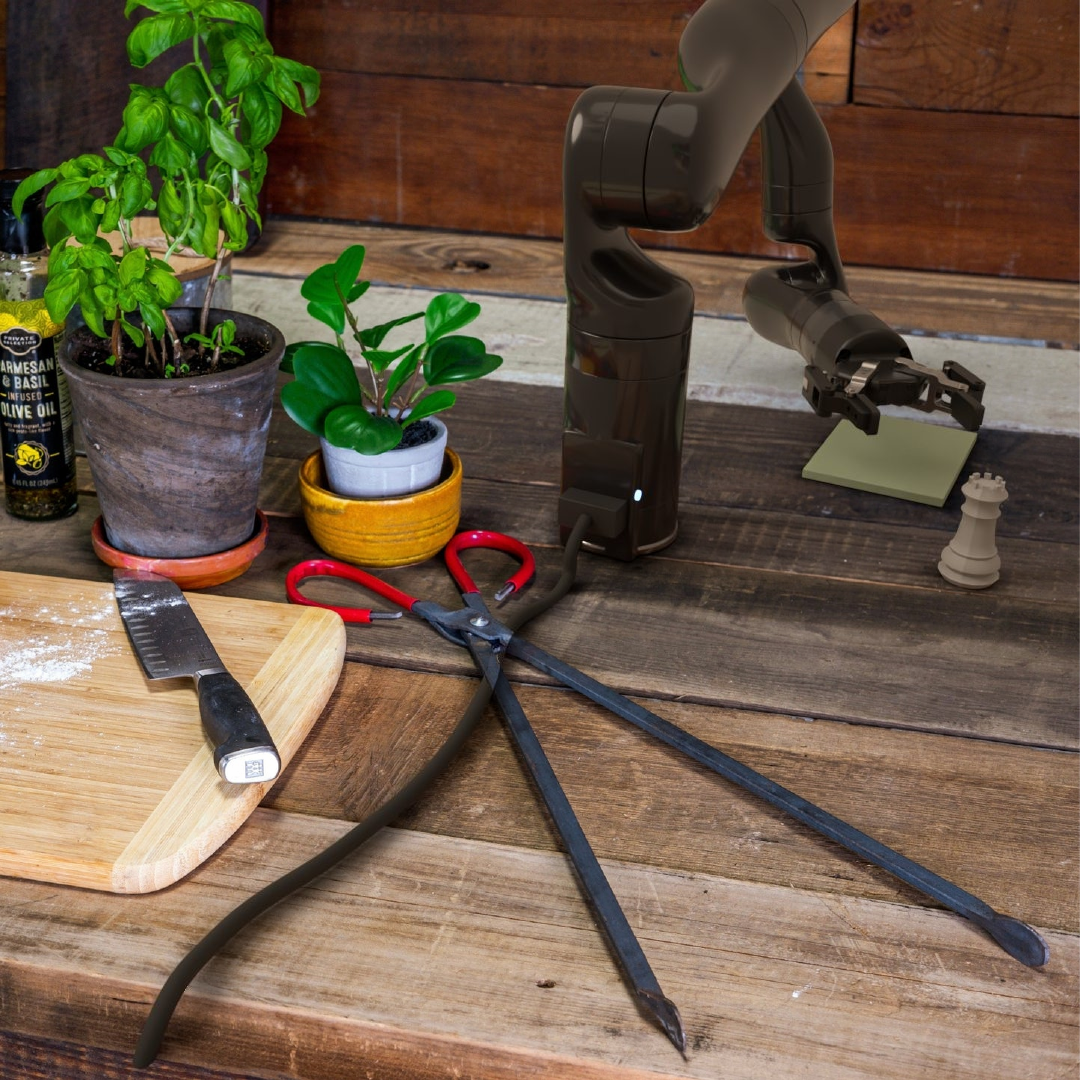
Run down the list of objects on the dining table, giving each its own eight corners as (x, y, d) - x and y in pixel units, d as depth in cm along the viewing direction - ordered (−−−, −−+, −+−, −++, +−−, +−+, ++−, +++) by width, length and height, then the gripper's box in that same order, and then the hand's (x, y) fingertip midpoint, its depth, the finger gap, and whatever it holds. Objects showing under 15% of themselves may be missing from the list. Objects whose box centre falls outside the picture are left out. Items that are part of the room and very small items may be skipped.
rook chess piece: (989, 597, 91) (1011, 498, 88) (928, 580, 94) (947, 483, 90) (1005, 572, 95) (1026, 476, 91) (946, 556, 97) (964, 461, 93)
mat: (942, 507, 104) (943, 498, 104) (801, 477, 109) (802, 469, 109) (976, 440, 117) (977, 433, 117) (849, 416, 122) (850, 408, 121)
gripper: (782, 315, 111) (847, 381, 97) (934, 310, 113) (1020, 375, 99) (773, 394, 115) (834, 469, 101) (921, 388, 117) (1001, 461, 102)
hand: (926, 422), depth 100 cm, fingers open, 8 cm apart
